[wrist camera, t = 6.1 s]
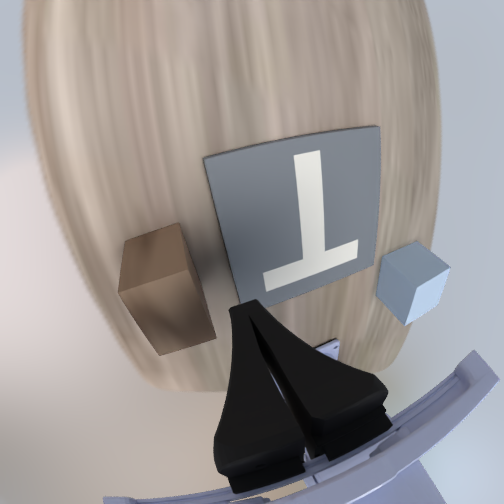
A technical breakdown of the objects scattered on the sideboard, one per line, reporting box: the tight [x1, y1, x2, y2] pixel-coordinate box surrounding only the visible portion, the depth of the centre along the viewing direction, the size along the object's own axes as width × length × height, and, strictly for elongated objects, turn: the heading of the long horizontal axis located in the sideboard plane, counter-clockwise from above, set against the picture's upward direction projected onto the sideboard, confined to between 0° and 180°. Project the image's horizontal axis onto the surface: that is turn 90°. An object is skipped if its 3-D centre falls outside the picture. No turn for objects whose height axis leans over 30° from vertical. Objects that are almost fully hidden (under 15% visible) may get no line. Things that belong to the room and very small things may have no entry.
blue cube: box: [376, 241, 451, 326], centre depth 23 cm, size 5×5×5 cm
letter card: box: [203, 126, 381, 308], centre depth 19 cm, size 12×12×1 cm
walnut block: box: [118, 223, 217, 356], centre depth 15 cm, size 5×5×4 cm
